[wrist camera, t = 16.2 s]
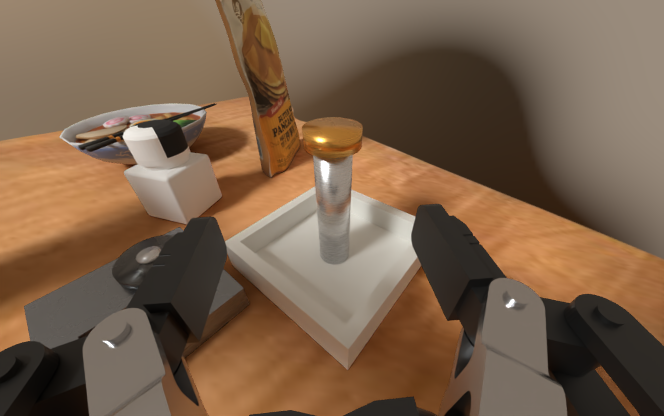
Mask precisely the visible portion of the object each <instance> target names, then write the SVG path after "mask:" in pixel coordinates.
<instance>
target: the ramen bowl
mask: <svg viewBox="0 0 664 416" xmlns="http://www.w3.org/2000/svg"><path fill="white" fill-rule="evenodd" d="M214 105H217V104H211V105H208V106H205V107H200V106H196V105H192V104H174V103H173V104H157V105H147V106H140V107H134V108H127V109H122V110H118V111H114V112H109V113H104V114H101V115H98V116H95V117H92V118H89V119H85V120H82V121H80V122H78V123H76V124H74V125H72V126H70V127H68V128H66V129H64V131H63V132H62V134H61V135H60V138H61V139H63V140H64V141H66V142H67V143H69V144H70V145H72V146H73V147H75V148H76V149H78V150H80V151H81V152H83V153H85V154H87V155H89V156H91V157H94V158H96V159H99V160H102V161H105V162H111V163H119V164H137V162H136V161H135V159H134V157H133V155H132V153H131V151H130V150H129V148H128V146H127V144H126V142H125V141H124V139H123V134H124V132H125V131H126V130H127V129H128V128H130V127H131V126H133V125H135V124H138V123H141V122H145V121H151V120H170V121H174V122H176V123H178V124H179V125H180V126H181V128H182V131H183V133H184V136H185V139H186V141H187V144H188V146H189V147H190V146H191V145H192V144H193V143H194V142H195V141H196V139H197V138H198V137H199V135H200V133H201V131H202V129H203V126H204V123H205V119H206V111H205V110H204V109H206V108H209V107H211V106H214Z"/></svg>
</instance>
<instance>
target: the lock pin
mask: <svg viewBox="0 0 664 416" xmlns="http://www.w3.org/2000/svg"><path fill="white" fill-rule="evenodd" d="M362 130H363V126H362V124H361V123H359V122H358V121H355V120H352V119H348V118H339V117H329V118H320V119H315V120H312V121H309V122H307V123H305V124H304V125H303V127H302V133H303V144H304V149H305V151H306V152H307V153H309V154H311V155H313V159H314V174H315V188H316V203H317V218H318V232H319V247H320V257H321V259H322V260H323V261H324V262H326V263H328V264H340V263H343V262H344V261H346V260H347V258H348V256H349V241H350V212H351V183H352V155H353V154H355V153H357V152H358V151H359V150H360V149H361V147H362Z"/></svg>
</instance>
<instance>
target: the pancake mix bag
mask: <svg viewBox="0 0 664 416" xmlns="http://www.w3.org/2000/svg"><path fill="white" fill-rule="evenodd" d="M215 1H216V3H217V7H218V9H219V12H220V15H221V17H222V20H223V23H224V25H225V28H226V31H227V34H228V37H229V41H230V44H231V49H232V53H233V56H234V60H235V63H236V66H237V69H238V71H239V73H240V76H241V78H242V80H243V83H244V85H245V87H246V90H247V92H248V95H249V100H250V105H251V110H252V117H253V123H254V128H255V134H256V139H257V144H258V149H259V155H260V161H261V167H262V170H263V173H265V174H266V175H267V176H269V177H272V176H273V175H274V174H276V173H280V172H284V171H285V170H286V169H287V168H288V167H289V165H290V163H291V161H292V160H293V158H294V156H295V154H296V152H297V151H298V149H299V147H300V139H299V133H298V130H297V126H296V123H295V120H294V116H293V112H292V108H291V103H290V98H289V94H288V90H287V86H286V82H285V77H284V73H283V68H282V65H281V60H280V58H279V52H278V48H277V45H276V41H275V38H274V35H273V32H272V29H271V26H270V23H269V20H268V18H267V15H266V12H265V10H264V7H263V4H262V1H261V0H215Z"/></svg>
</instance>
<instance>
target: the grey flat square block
mask: <svg viewBox="0 0 664 416" xmlns="http://www.w3.org/2000/svg"><path fill="white" fill-rule="evenodd" d="M178 232H183V230H182V229H181V228H180V227H178V228H176V229H174V230H172V231H170V232H168V233H166V234H165V235H161V236H156V237H152V238H149V239H146V240H144V241H141V242H139V243H137V244H135V245H134V246H132V247H131V248H129V249H128V250H126V251H125V252H124V253H123V254H122V255H121V256H120V257H119V258H117V259H116V260H114V261H112V262H110V263H108V264H106V265H104V266H102V267H100V268H98V269H96V270H94V271H92V272H90V273H88V274H86V275H84V276H82V277H80V278H78V279H76V280H74V281H72V282H70V283H69V284H67V285H65V286H63V287H61V288H59V289H57V290H55V291H53V292H51V293H49V294H47V295H45V296H43V297H41V298H39V299H37V300H35V301H33V302H31V303H29V304H27V305H25V306H24V309H25V315H26V320H27V325H28V330H29V336H30V341H37V342H40V343H42V344H43V345H45V346H46V347H48V348H50V349H51V348H54V347H57V346H60V345H63V344H66V343H68V342H71V341H74V340H77V339H80V338H83V337H85V336H88V335H89V334H90V332H91V331H92V330H93V329H94V328H95V327H96V326H97V325H98V324H99V323H100V322H101V321H103V320H104V319H105V318H107V317H108V316H110V315H112V314H114V313H116V312H118V311H121V310H124V309H125V308H126V307H127V306H128V304H129V302H130V301H131V299H132V297H133V296H134V294H135V292H136V291H137V289H138V288H139V286H140V284H141V283H142V281H143V279H144V278H145V276H146V274H147V273H148V271H149V269H150V268H151V267H153V263H154V261H155V260H156V258H157V257H159V253H160V251H161V250H162V248H163V246H164V245H165V243H166V242H167V241H168V240H170V239H171V238H172V237H173V236H174V235H175V234H176V233H178ZM249 304H250V303H249V300H248V298H247V295H246V293H245V290H244V288H243V287H242V286H241V285H240V284H239V283H238V282H237V281H236V280H235V279H234V278H233V277H232V276H230V275H229V274H228V273H227V272H226V271H225V270H224V269H223V271H222V274H221V277H220V280H219V284H218V287H217V290H216V293H215V296H214V299H213V302H212V305H211V309H210V312H209V315H208V318H207V321H206V324H205V327H204V330H203V334H202V337H201V340H200V342H197V343H186V346H185V349H184V352H183V356H184V358H186V357H187V356H188V355H189V354H191V353H192V352H193V351H194V350H195V349H197V348H198V347H199V346H200V345H201V344H203V343H204V342H205V341H206V340H207V339H209V338H210V337H211V336H212V335H213V334H215V333H216V332H217V331H218V330H219V329H221V328H222V327H223V326H224V325H225V324H227V323H228V322H229V321H230V320H231V319H233V318H234V317H235V316H236V315H237V314H239V313H240V312H241V311H242V310H243V309H245V308H246V307H247V306H248V305H249Z"/></svg>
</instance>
